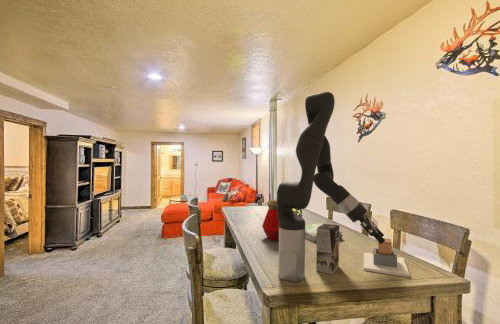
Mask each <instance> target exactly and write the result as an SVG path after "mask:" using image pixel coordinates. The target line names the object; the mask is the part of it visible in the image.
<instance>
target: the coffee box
mask: <svg viewBox="0 0 500 324" xmlns="http://www.w3.org/2000/svg"><path fill="white" fill-rule="evenodd" d="M339 231H340V224H339V225H338V224H330V223H329V224H328V223H324V224H322V225H321V226H319V227H318V228H317V242H316V258H315V261H316V263H315V264H316V269H315V270H316V271H318V272H322V273H326V274H330V275H333V274H334V273H335V271H336V270H337V269H338V268H339V267H340V240H339Z"/></svg>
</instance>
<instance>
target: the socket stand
mask: <svg viewBox="0 0 500 324" xmlns="http://www.w3.org/2000/svg"><path fill="white" fill-rule="evenodd" d="M372 250H373V251H372V253H369V252H363V271H367V272H374V273H379V274H386V275H391V276H399V277H406V278H410V277H411V274H410V272H409V269H408V266H407V264H406V261H405V258H404V257H401V256H400V257H399V256H398V255H397V252H396V250H393V249H392V256H391V255H383V254H378V247H377V248H376V247H373V249H372Z"/></svg>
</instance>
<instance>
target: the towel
mask: <svg viewBox="0 0 500 324" xmlns="http://www.w3.org/2000/svg"><path fill="white" fill-rule="evenodd" d="M322 224H325V223H324V222H319V223H312V224H305V240H308V241H311V242H312V243H317V228H318V227H319V226H321V225H322ZM342 233H343V232H342V231H341V230H339V241H340V240H342V239H343V234H342Z"/></svg>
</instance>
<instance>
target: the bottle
mask: <svg viewBox="0 0 500 324" xmlns="http://www.w3.org/2000/svg"><path fill="white" fill-rule="evenodd" d="M266 204H267V207H268V210H267V212H266V214H265V217H264V220H263V223H262V229H263V232H264V234H265V236H266V237H267V239H268V240H270V241H273V242H279V221H278V215H277V199H269V200H268V201H267V203H266Z"/></svg>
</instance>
